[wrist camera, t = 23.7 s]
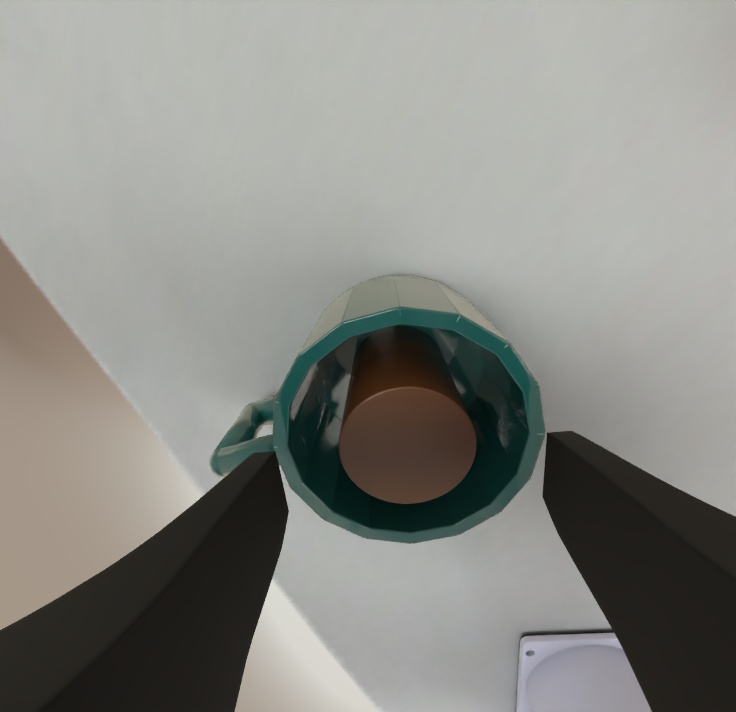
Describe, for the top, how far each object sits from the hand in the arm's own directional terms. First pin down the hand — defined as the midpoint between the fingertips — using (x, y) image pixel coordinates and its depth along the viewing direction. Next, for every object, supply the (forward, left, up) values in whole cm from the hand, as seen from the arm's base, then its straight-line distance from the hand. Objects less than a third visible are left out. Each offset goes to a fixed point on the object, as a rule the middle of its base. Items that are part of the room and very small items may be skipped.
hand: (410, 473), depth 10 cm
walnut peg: (0, 0, -7) cm, 7 cm away
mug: (0, +1, -8) cm, 8 cm away
